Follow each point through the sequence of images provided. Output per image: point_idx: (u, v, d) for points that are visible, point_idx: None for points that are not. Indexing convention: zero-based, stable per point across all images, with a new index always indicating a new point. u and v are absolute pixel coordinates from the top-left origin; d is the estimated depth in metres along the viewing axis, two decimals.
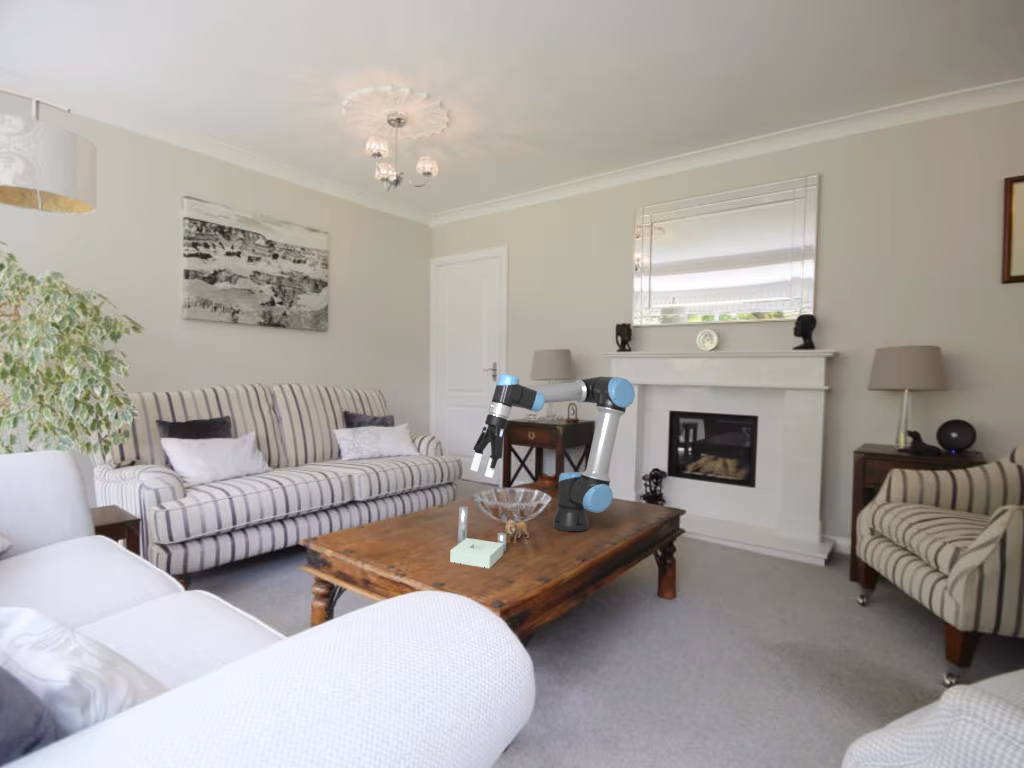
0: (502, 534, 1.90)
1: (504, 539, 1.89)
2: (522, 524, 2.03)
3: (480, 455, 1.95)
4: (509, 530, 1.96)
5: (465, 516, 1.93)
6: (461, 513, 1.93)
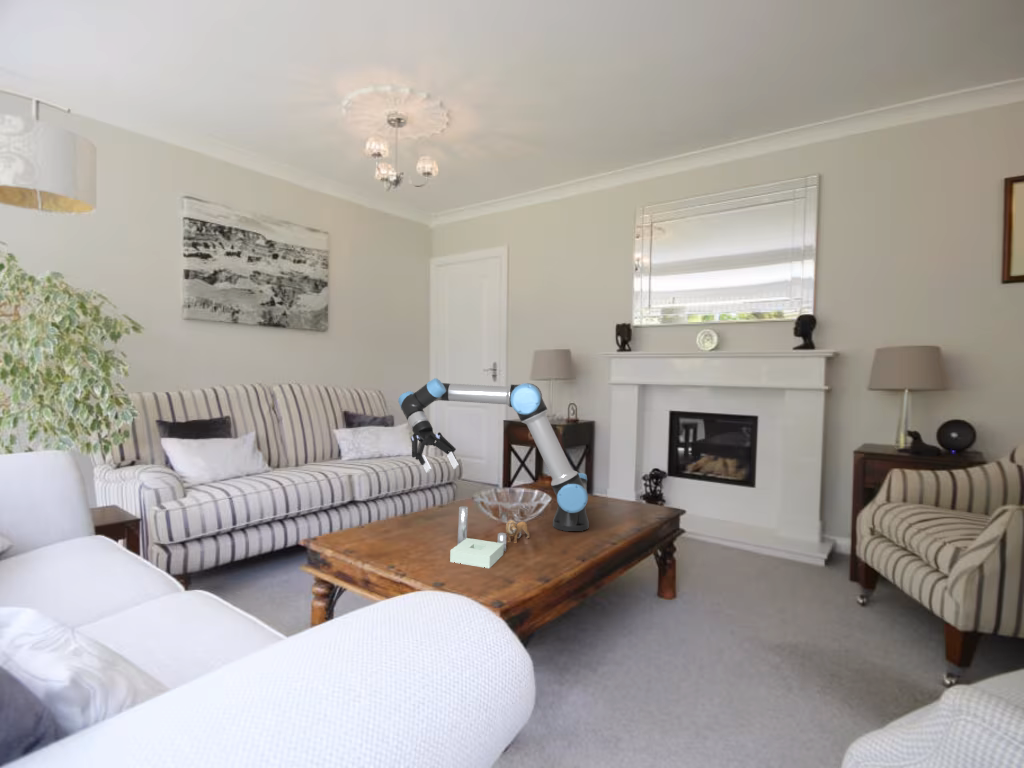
0: (502, 534, 1.90)
1: (504, 539, 1.89)
2: (522, 524, 2.03)
3: (450, 453, 2.10)
4: (509, 530, 1.96)
5: (465, 516, 1.93)
6: (461, 513, 1.93)
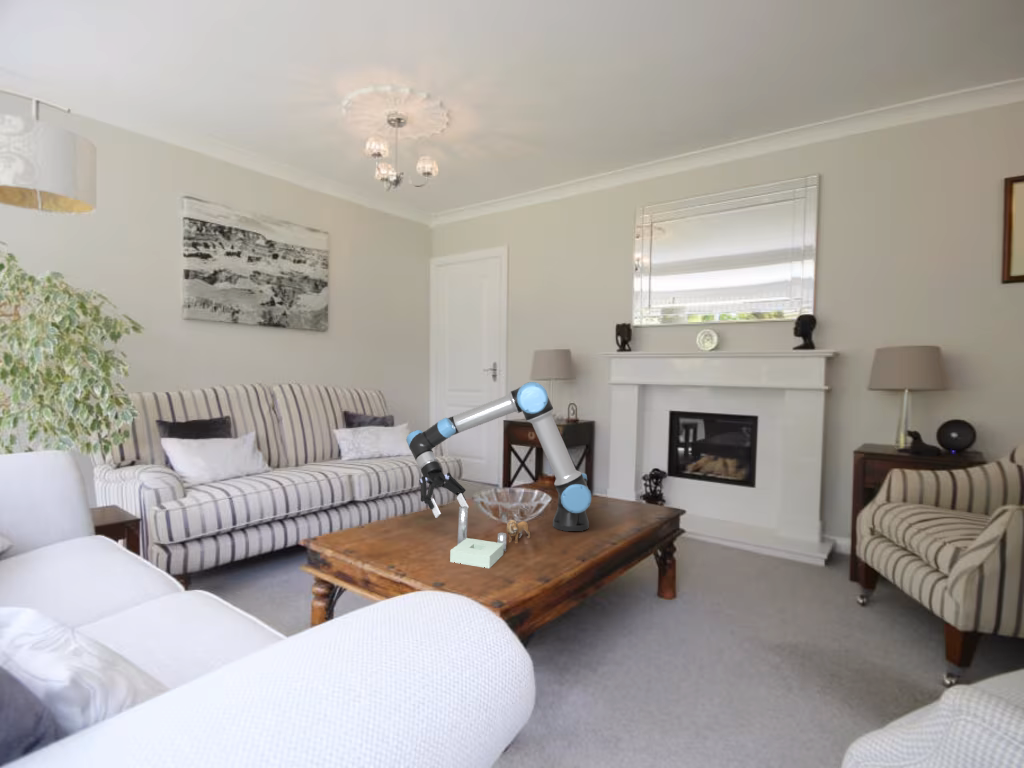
0: (502, 534, 1.90)
1: (504, 539, 1.89)
2: (523, 523, 2.04)
3: (459, 495, 2.04)
4: (510, 530, 1.97)
5: (465, 516, 1.93)
6: (461, 513, 1.93)
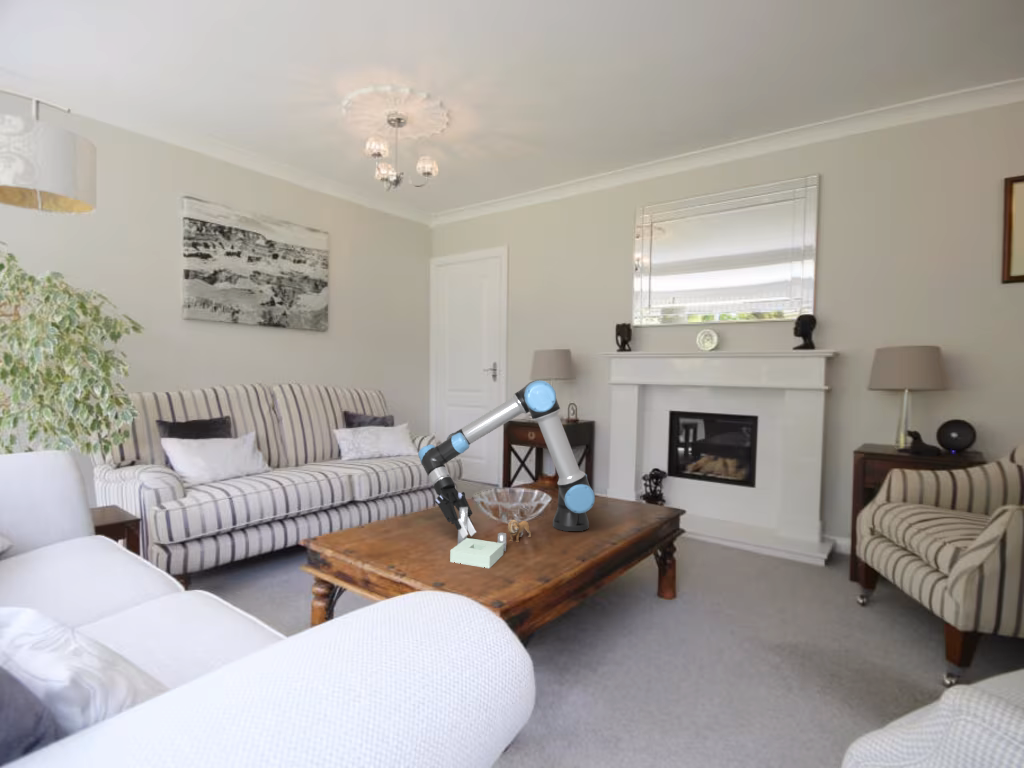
0: (502, 534, 1.90)
1: (504, 539, 1.89)
2: (524, 523, 2.05)
3: None
4: (512, 529, 1.97)
5: (465, 516, 1.93)
6: (461, 513, 1.93)
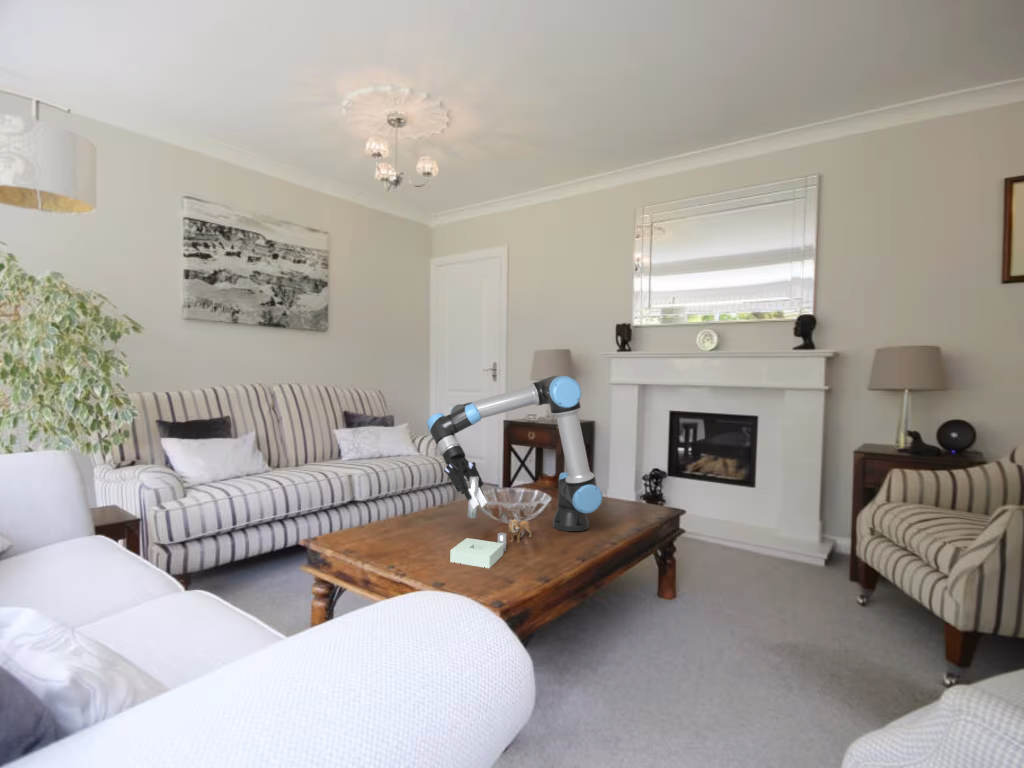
0: (502, 534, 1.90)
1: (504, 539, 1.89)
2: (525, 523, 2.05)
3: None
4: (513, 529, 1.98)
5: (476, 486, 1.83)
6: (471, 482, 1.83)
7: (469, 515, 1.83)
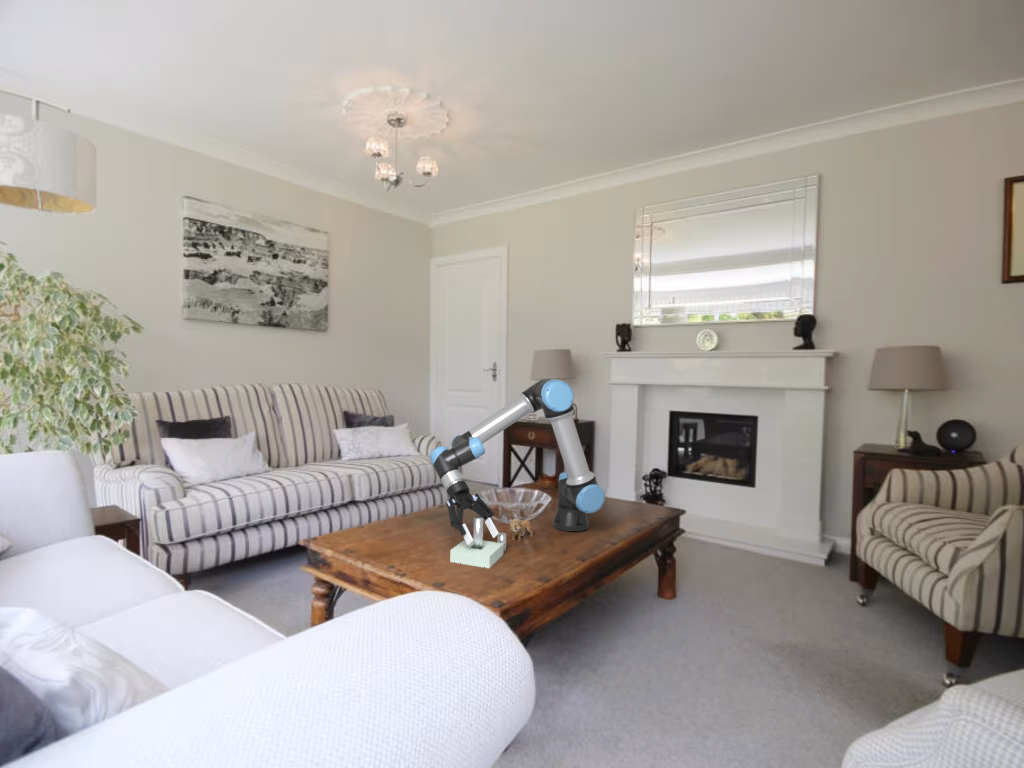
0: (502, 534, 1.90)
1: (504, 539, 1.89)
2: (526, 522, 2.06)
3: (488, 520, 1.86)
4: (514, 528, 1.98)
5: (480, 527, 1.80)
6: (476, 524, 1.80)
7: None
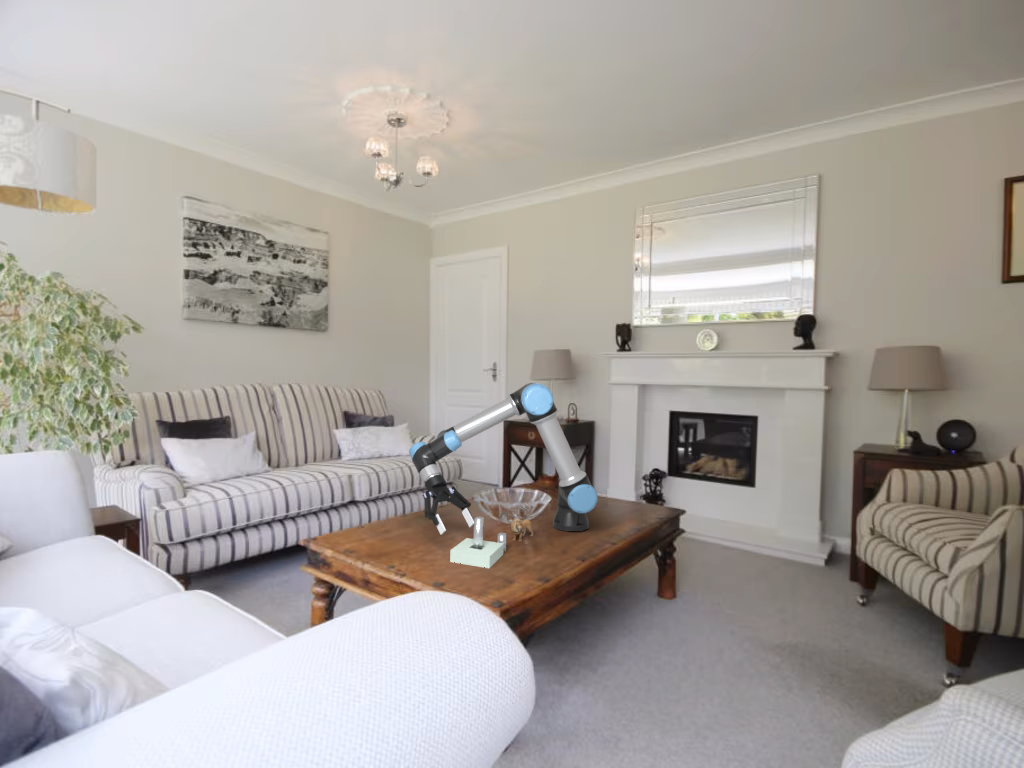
0: (502, 534, 1.90)
1: (504, 539, 1.89)
2: (527, 522, 2.06)
3: (465, 510, 1.96)
4: (515, 528, 1.99)
5: (481, 527, 1.80)
6: (476, 524, 1.80)
7: None
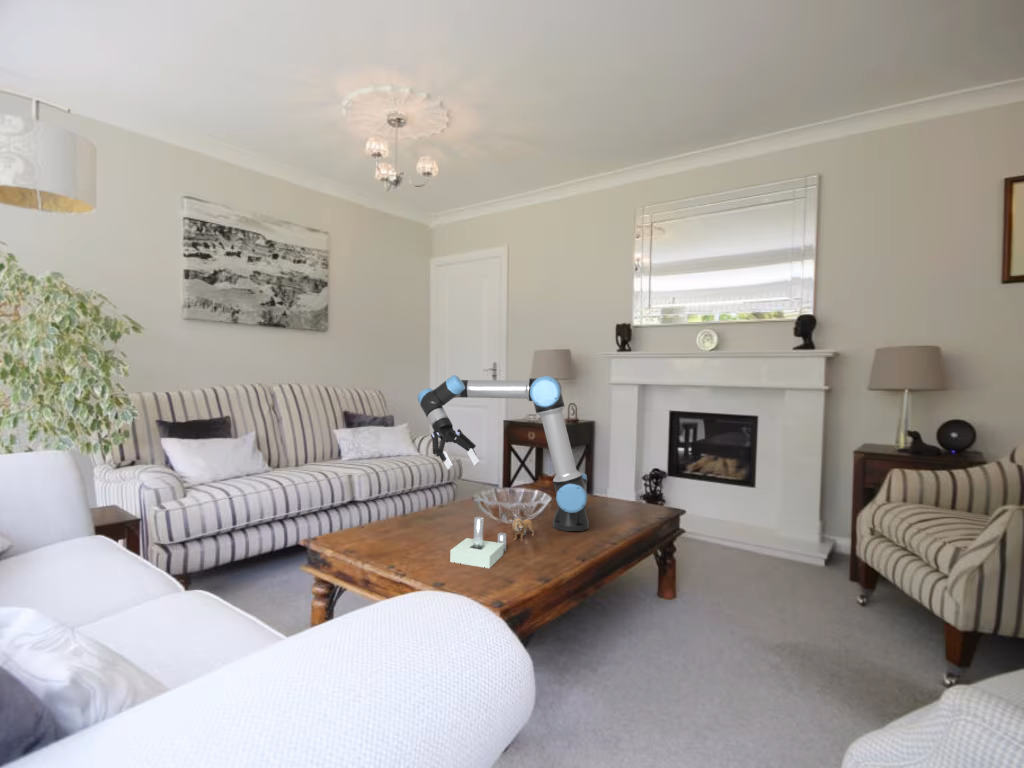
0: (502, 534, 1.90)
1: (504, 539, 1.89)
2: (528, 521, 2.07)
3: (470, 450, 2.10)
4: (516, 528, 1.99)
5: (481, 527, 1.80)
6: (476, 524, 1.80)
7: None
